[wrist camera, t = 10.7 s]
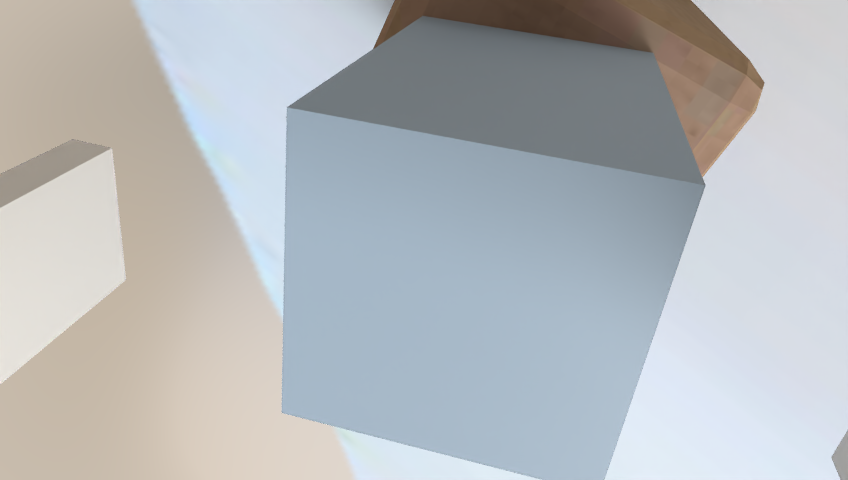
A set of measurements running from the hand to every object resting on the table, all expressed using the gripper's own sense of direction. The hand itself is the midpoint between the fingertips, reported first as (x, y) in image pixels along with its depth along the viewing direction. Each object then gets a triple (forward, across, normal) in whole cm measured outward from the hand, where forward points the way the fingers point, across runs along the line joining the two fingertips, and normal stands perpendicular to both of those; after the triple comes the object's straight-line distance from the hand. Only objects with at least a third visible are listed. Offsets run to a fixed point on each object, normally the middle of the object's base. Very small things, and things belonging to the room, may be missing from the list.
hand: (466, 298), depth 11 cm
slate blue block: (+8, 0, 0) cm, 9 cm away
